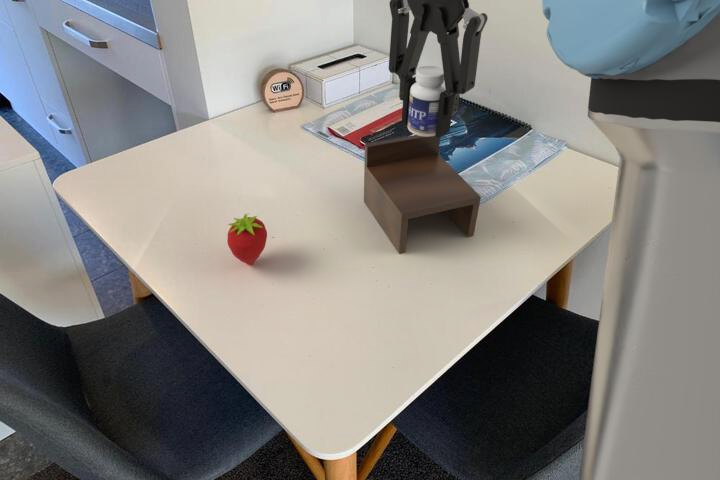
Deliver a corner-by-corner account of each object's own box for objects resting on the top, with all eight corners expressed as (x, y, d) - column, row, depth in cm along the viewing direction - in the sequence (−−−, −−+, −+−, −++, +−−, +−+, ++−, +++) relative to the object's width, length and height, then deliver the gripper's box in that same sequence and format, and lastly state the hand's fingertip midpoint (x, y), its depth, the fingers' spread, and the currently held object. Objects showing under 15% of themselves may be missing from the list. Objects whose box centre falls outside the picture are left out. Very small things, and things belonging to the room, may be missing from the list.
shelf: (473, 235, 89) (485, 175, 82) (399, 254, 85) (403, 192, 78) (431, 187, 101) (437, 130, 93) (363, 201, 97) (364, 143, 89)
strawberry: (274, 248, 86) (268, 198, 80) (265, 280, 80) (258, 228, 74) (238, 247, 86) (229, 197, 80) (227, 278, 80) (216, 227, 74)
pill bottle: (400, 126, 78) (403, 68, 73) (427, 118, 81) (432, 61, 75) (422, 141, 75) (428, 80, 69) (450, 131, 77) (457, 73, 72)
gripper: (526, -43, 61) (492, 137, 75) (398, -62, 70) (390, 102, 84) (496, -32, 56) (466, 157, 71) (363, -54, 65) (361, 118, 80)
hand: (425, 127), depth 78 cm, fingers closed on pill bottle, 5 cm apart
